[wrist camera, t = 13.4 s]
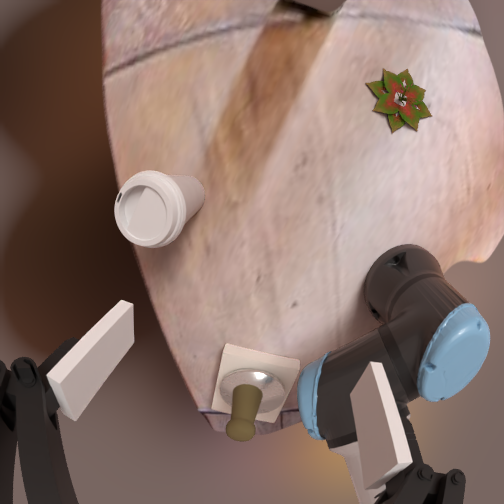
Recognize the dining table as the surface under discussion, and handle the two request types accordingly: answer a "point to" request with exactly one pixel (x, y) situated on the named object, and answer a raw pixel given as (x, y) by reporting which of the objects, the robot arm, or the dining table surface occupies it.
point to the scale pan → (262, 380)
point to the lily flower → (387, 100)
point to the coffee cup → (157, 207)
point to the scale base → (250, 358)
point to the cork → (244, 412)
